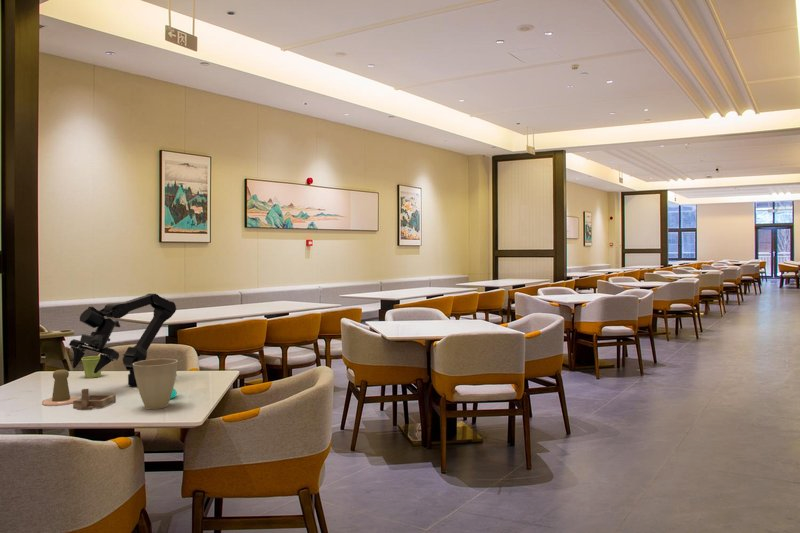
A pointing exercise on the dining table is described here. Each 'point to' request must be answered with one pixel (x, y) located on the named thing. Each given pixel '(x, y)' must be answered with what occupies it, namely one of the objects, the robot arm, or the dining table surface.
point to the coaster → (51, 403)
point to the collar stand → (93, 401)
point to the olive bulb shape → (60, 386)
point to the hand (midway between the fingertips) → (84, 370)
